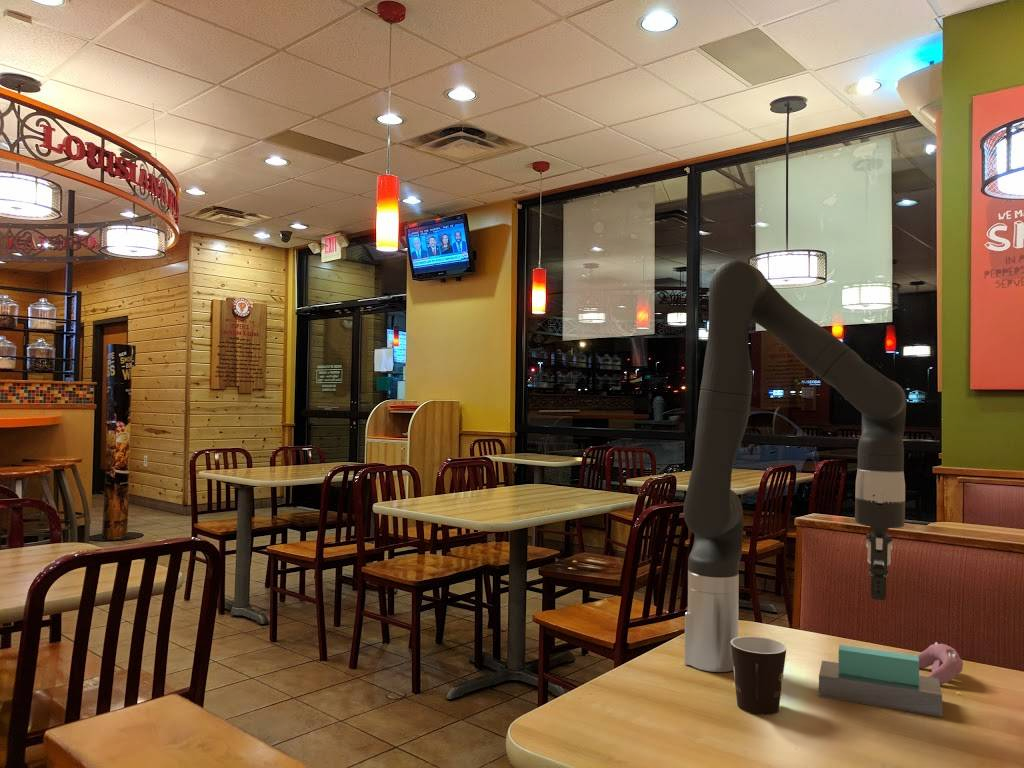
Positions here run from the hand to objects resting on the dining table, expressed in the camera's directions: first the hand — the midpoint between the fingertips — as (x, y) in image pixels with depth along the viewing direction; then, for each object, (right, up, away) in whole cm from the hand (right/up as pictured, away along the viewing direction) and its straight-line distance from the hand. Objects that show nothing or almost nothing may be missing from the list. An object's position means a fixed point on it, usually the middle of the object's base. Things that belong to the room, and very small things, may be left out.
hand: (878, 593), depth 126 cm
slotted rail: (0, -17, 0) cm, 17 cm away
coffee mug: (-23, -17, -6) cm, 29 cm away
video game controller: (+15, -18, +10) cm, 26 cm away
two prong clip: (0, -17, 0) cm, 17 cm away
